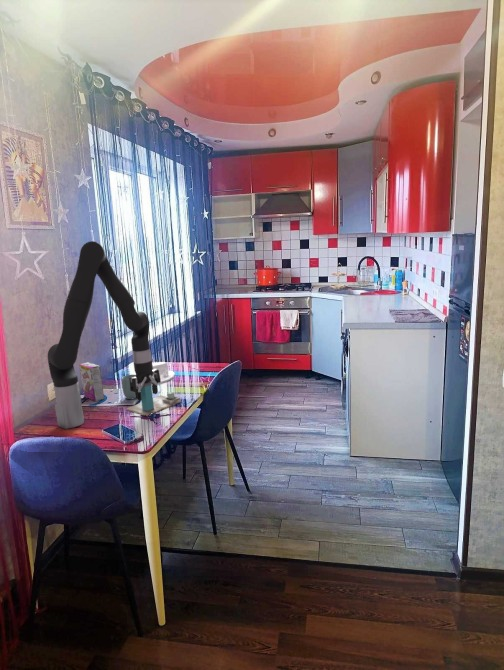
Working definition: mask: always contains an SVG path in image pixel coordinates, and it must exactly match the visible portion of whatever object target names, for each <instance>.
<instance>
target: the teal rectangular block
mask: <svg viewBox="0 0 504 670" xmlns="http://www.w3.org/2000/svg"><path fill="white" fill-rule="evenodd" d="M139 385H140V383H139ZM140 392H141V399H142V400H140V403H142V411H145V412H149V411H152V410H154V405H153V398H154V397H153V396H154V395H153V391H152V385H151V382H147V383H145V384H144V385H143V387H142V388H141V390H140Z"/></svg>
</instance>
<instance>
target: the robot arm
mask: <svg viewBox="0 0 504 670" xmlns="http://www.w3.org/2000/svg"><path fill="white" fill-rule="evenodd" d="M76 267H77V268H76V273H75V275H74V278H73V280H72V283H71V286H70V288H69V291H68V294H67V298H66V300H65V303H64V308H63V313H62V330H61V336H60V339H59V341H58V343H55V344H53V345H52V346H51V347H50V348H49V349H48V352H47V362H48V368H49V373H50V374H49V375H50V377H51V380H52V383H53V388H54V394H55V395H54V396H55V400H56V401H55V402H56V403H54V410H55V415H56V416H55V417H56V422H57V426H58V427H59V428H63V429H65V430H67V429H72V428H76V427H79V426H81V425H83V424H84V423H85V417H84V411H83V404H82V398H81V392H80V391H81V390H80V385H79V377H78V374H77V372H76V370H75V367H74V365H75V363H76V361H77V359H78V354H79V348H80V341H81V338H82V335H83V331H84V328H85V325H86V322H87V319H88V315H89V313H90V310H91V305H92V302H93V299H94V298H93V296H94V290H95V281H96V276H98V277H99V279H100V281H101V282H102V284H103V285H104V288H105V289H106V291H107V293H108V295H109V297H110V298H111V299H112V301H113V302H114V304H115V306H116V307H117V308H118V310H119V312H120V315H121V317H122V320H123V323H124V324H125V326H126V327H127V328H128V329H129V330H130V331H131V332H133V335H132V337H131V340H130V341H131V350H132V361H133V370H134V374H135V373H136V376H135V377H133V378H132V377H130V378H129V380H130V391H132V392H135V395H136V398H135V399H136V400H137V401H140V402H141V400H142V399H141V392H140V390H141V388H142V387H143V385H144V384H145V383H147V382H151V384H152V385H151V387H152V395H157V394H158V391H159V390H158V385H159V384H158V383H160V382H161V380H160V374H159V370H158V369H153V365H152V363H153V359H152V352H151V348H150V347H151V346H150V340H149V339H150V338H149V334H150V320H149V317H148V315H147V314H146V313H145V312H144V311H142V310H141V311H140V310H139V311H137V310H136V308H135V304H136V301H135V299H134V298H133V296H132V295H131V293H130V292H129V291H128V289H127V287H126V286H125V285H124V283H123V282H122V280H121V279H120V278H119V277H118V275H117V274H116V272H115V271H114V268H113V266H112V265H111V264H110V261H109V259H108V256H107V253H106V250H105V248H104V247H103V246H102V245H101V244H100V243H99V242H97V241H93V240H92V241H87V242H85V243H84V244H83V245H82V247H81V248H80V251H79V257H78V262H77V266H76ZM152 370H153V371H152ZM153 374H154V378H153V377H152V376H153ZM136 380H137V381H136ZM139 383H140V385H139Z"/></svg>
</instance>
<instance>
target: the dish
mask: <svg viewBox="0 0 504 670" xmlns="http://www.w3.org/2000/svg"><path fill="white" fill-rule="evenodd" d="M152 365H153V369H158V370H159V374H160V380H161V382H160V383H158V385H161V384H163V383H167V382H170V381H172V380H174V378H175V375H176V374H175V372H174V371H172V370H169V367H168V362H157V363H156V362H155V363H153V362H152ZM152 371H153V370H152ZM132 375H136V373H135V372H134V373H133V374H132ZM152 377H153V378H154V374H153V376H152ZM151 386H152V384H151Z"/></svg>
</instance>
